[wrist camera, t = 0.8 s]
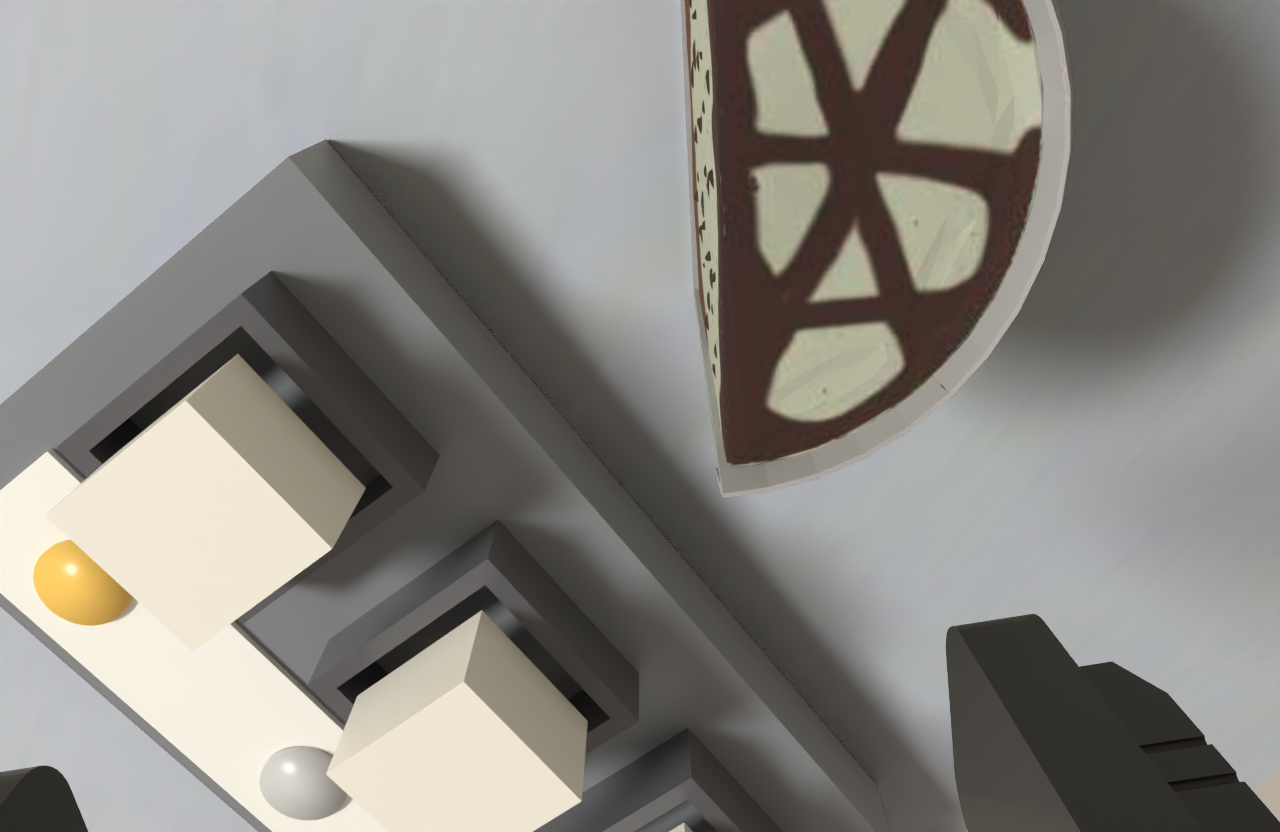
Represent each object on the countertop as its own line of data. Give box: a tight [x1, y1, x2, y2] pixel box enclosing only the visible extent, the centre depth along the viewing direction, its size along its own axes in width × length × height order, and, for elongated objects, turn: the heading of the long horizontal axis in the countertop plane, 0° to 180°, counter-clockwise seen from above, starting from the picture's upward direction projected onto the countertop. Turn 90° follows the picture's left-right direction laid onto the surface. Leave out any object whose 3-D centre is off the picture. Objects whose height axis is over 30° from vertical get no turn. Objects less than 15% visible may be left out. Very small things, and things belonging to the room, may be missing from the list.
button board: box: [0, 140, 891, 832], centre depth 29 cm, size 14×25×5 cm, turn 37°
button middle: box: [326, 610, 588, 832], centre depth 25 cm, size 4×4×3 cm
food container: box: [681, 0, 1074, 498], centre depth 21 cm, size 12×6×10 cm, turn 4°
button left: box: [45, 354, 366, 652], centre depth 22 cm, size 4×4×3 cm
